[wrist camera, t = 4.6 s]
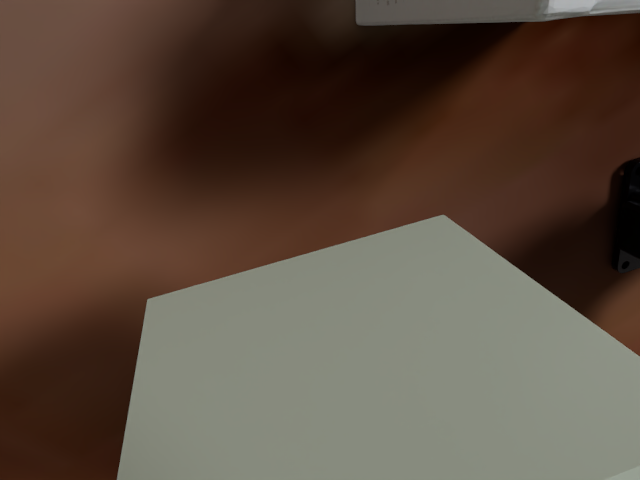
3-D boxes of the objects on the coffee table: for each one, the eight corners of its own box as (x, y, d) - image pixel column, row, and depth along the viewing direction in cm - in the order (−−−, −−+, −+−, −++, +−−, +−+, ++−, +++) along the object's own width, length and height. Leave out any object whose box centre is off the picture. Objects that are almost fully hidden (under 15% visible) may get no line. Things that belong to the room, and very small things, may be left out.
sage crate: (443, 214, 10) (735, 427, 5) (455, 418, 13) (642, 693, 7) (147, 299, 9) (82, 690, 4) (233, 498, 12) (266, 876, 6)
